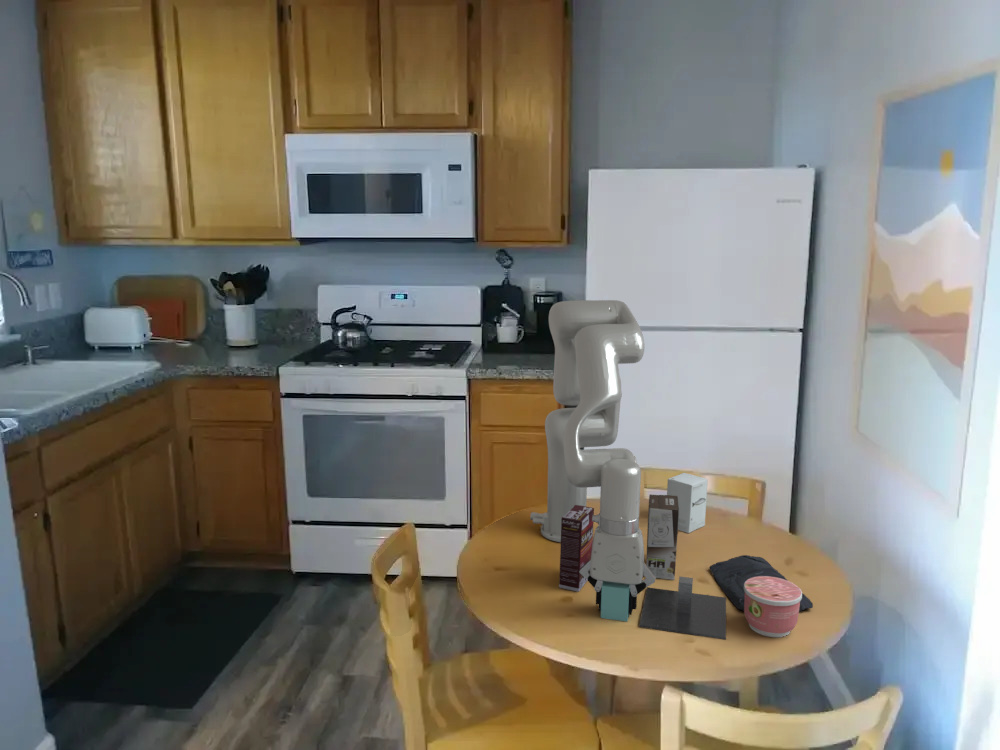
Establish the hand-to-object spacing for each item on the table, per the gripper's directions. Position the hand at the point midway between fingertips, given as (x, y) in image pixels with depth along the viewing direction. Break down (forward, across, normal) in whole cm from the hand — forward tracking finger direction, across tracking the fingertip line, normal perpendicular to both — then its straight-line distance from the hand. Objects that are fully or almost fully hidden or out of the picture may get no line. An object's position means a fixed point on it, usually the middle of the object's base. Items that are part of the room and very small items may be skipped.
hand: (615, 608), depth 155 cm
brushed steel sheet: (+1, +13, +4) cm, 14 cm away
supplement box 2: (+1, +11, +49) cm, 50 cm away
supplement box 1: (+1, -10, +11) cm, 15 cm away
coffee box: (+1, +7, +22) cm, 23 cm away
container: (+1, +29, +3) cm, 29 cm away
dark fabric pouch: (+1, +27, +18) cm, 33 cm away
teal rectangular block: (+1, 0, 0) cm, 1 cm away
